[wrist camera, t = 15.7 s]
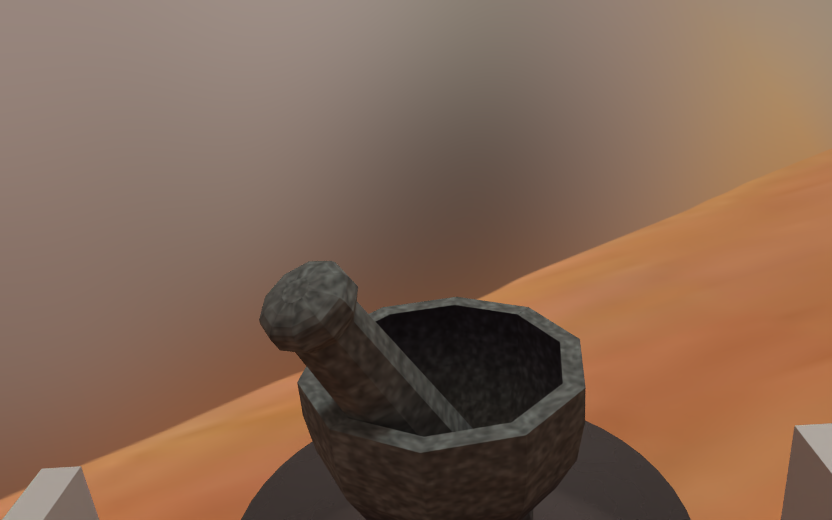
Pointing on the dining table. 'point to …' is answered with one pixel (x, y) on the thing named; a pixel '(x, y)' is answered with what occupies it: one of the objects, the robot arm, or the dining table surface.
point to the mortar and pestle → (431, 398)
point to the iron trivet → (554, 516)
